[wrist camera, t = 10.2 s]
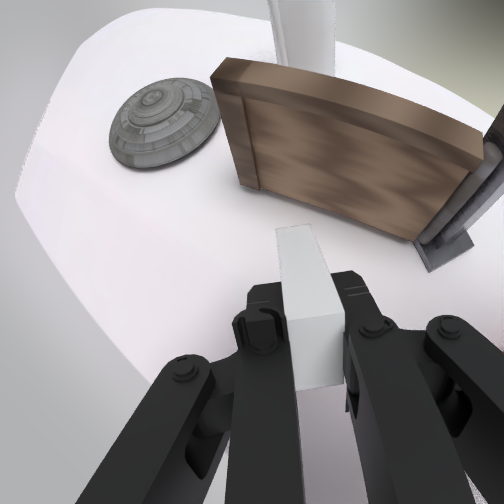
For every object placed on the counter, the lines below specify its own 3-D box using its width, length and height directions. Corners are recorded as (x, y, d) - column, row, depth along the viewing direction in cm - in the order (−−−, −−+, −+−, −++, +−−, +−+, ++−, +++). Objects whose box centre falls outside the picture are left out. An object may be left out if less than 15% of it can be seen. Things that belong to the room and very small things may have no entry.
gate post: (442, 200, 29) (522, 76, 12) (470, 249, 27) (578, 146, 10) (400, 219, 29) (477, 81, 12) (429, 272, 27) (545, 166, 10)
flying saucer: (247, 106, 37) (241, 73, 31) (167, 194, 33) (147, 166, 28) (166, 79, 41) (155, 51, 36) (94, 149, 38) (75, 125, 33)
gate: (432, 229, 27) (501, 142, 14) (427, 251, 26) (503, 170, 13) (250, 165, 31) (226, 57, 19) (240, 184, 30) (209, 77, 18)
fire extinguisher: (247, 115, 36) (204, -85, 12) (310, 70, 38) (304, -98, 14) (290, 142, 33) (273, -87, 10) (351, 92, 35) (366, -90, 12)
